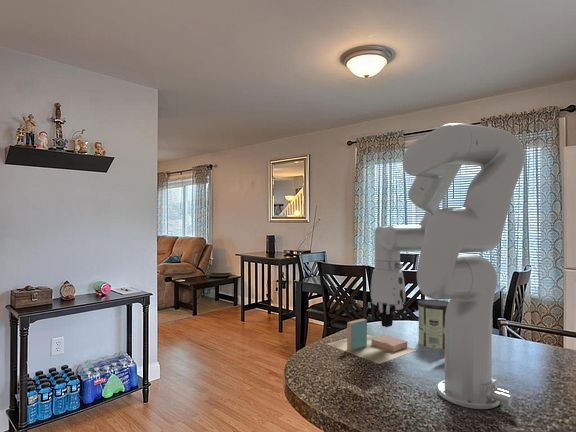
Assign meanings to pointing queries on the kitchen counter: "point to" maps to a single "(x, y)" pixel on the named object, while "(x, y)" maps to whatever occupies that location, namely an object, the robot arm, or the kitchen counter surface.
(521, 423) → the kitchen counter surface
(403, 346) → the tile right
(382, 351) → the board
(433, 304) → the coffee can
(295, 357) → the kitchen counter surface
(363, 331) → the tile left
